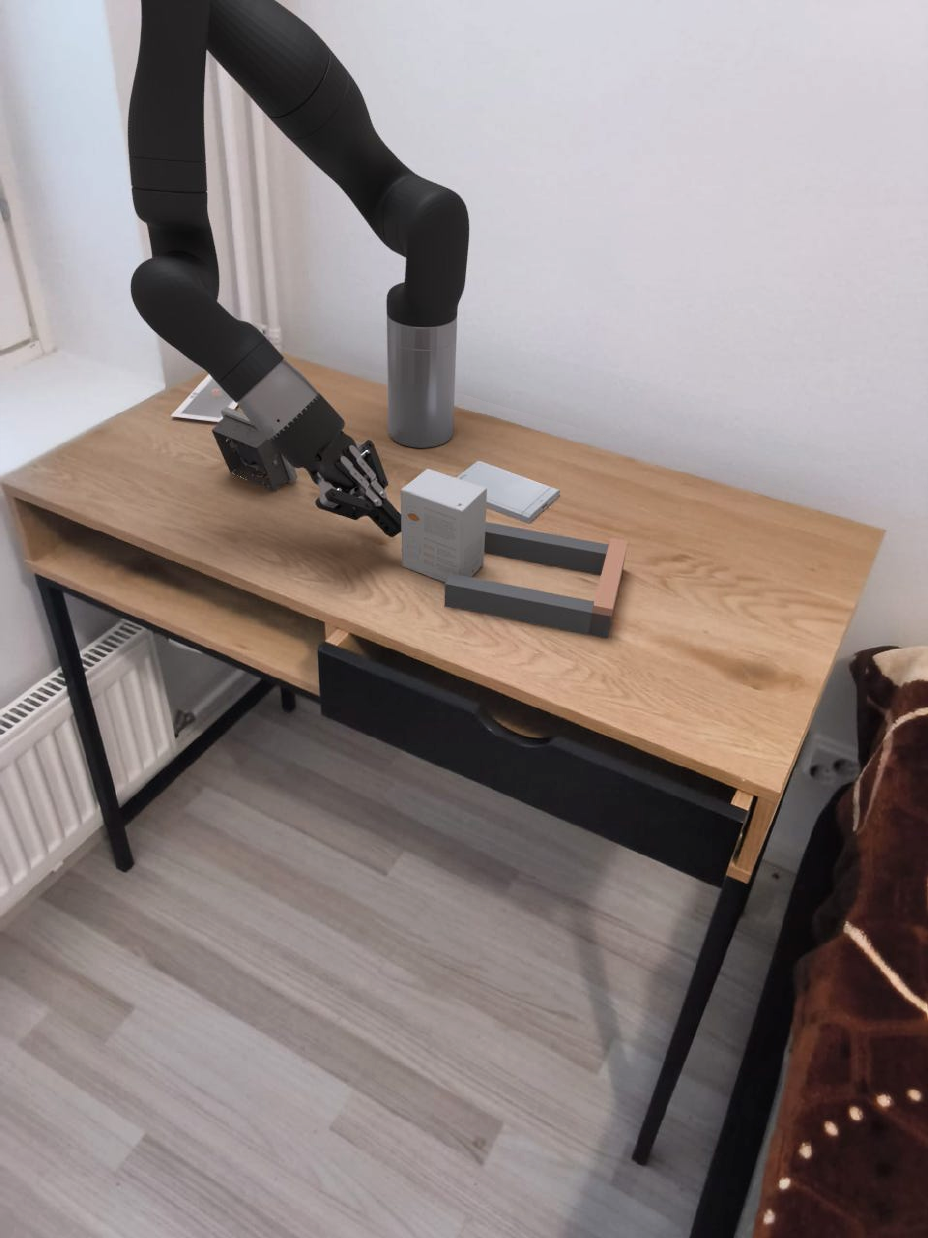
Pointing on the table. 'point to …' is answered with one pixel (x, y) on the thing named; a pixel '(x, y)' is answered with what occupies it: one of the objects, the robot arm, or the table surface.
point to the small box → (443, 525)
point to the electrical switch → (251, 452)
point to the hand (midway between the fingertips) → (399, 530)
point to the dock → (539, 603)
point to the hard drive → (510, 491)
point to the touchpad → (205, 402)
